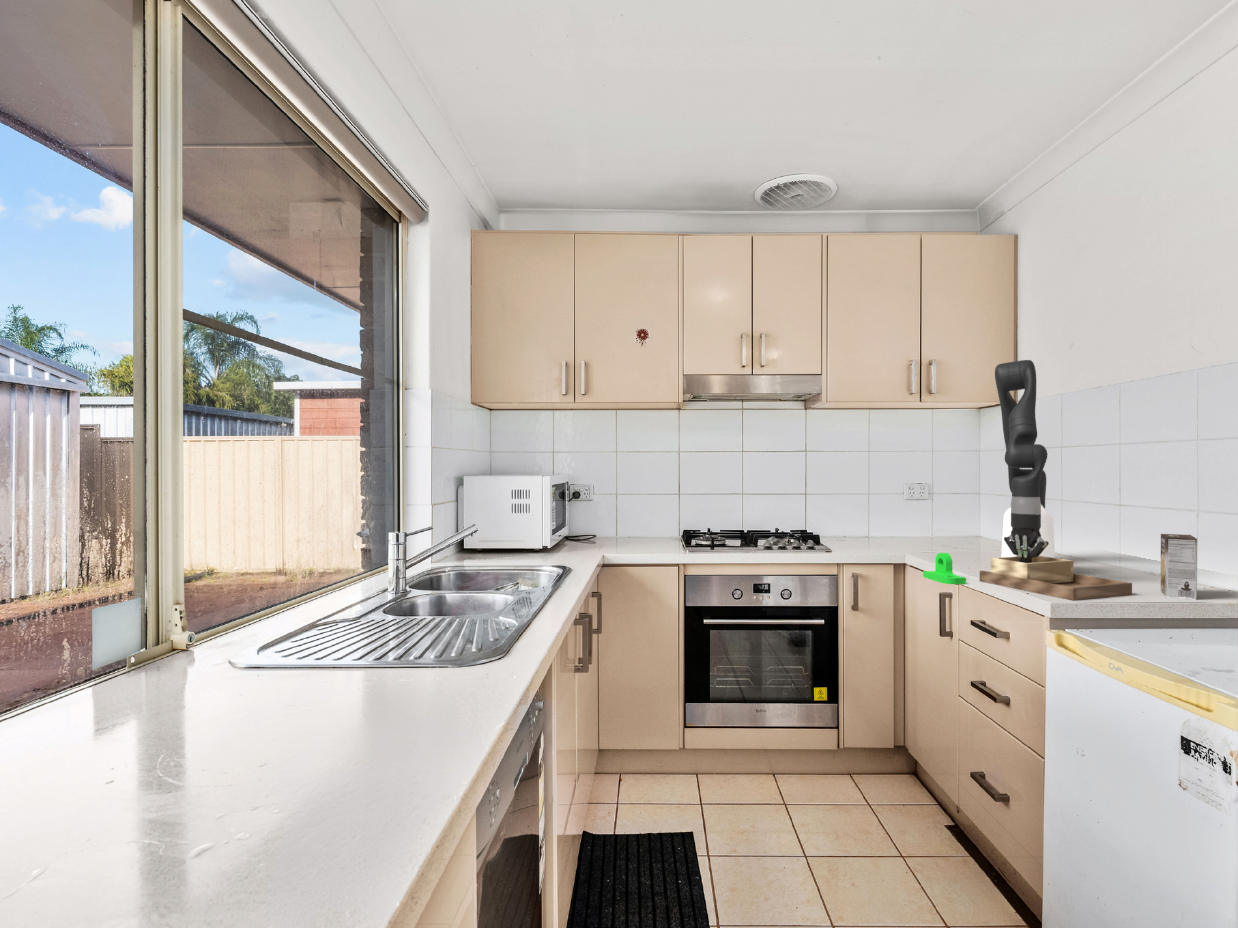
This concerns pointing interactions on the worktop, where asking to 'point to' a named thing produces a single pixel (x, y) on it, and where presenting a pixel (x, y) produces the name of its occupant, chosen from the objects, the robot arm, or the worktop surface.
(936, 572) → the mechanical part
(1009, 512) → the milk
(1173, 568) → the coffee box
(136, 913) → the worktop surface
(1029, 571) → the crate
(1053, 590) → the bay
